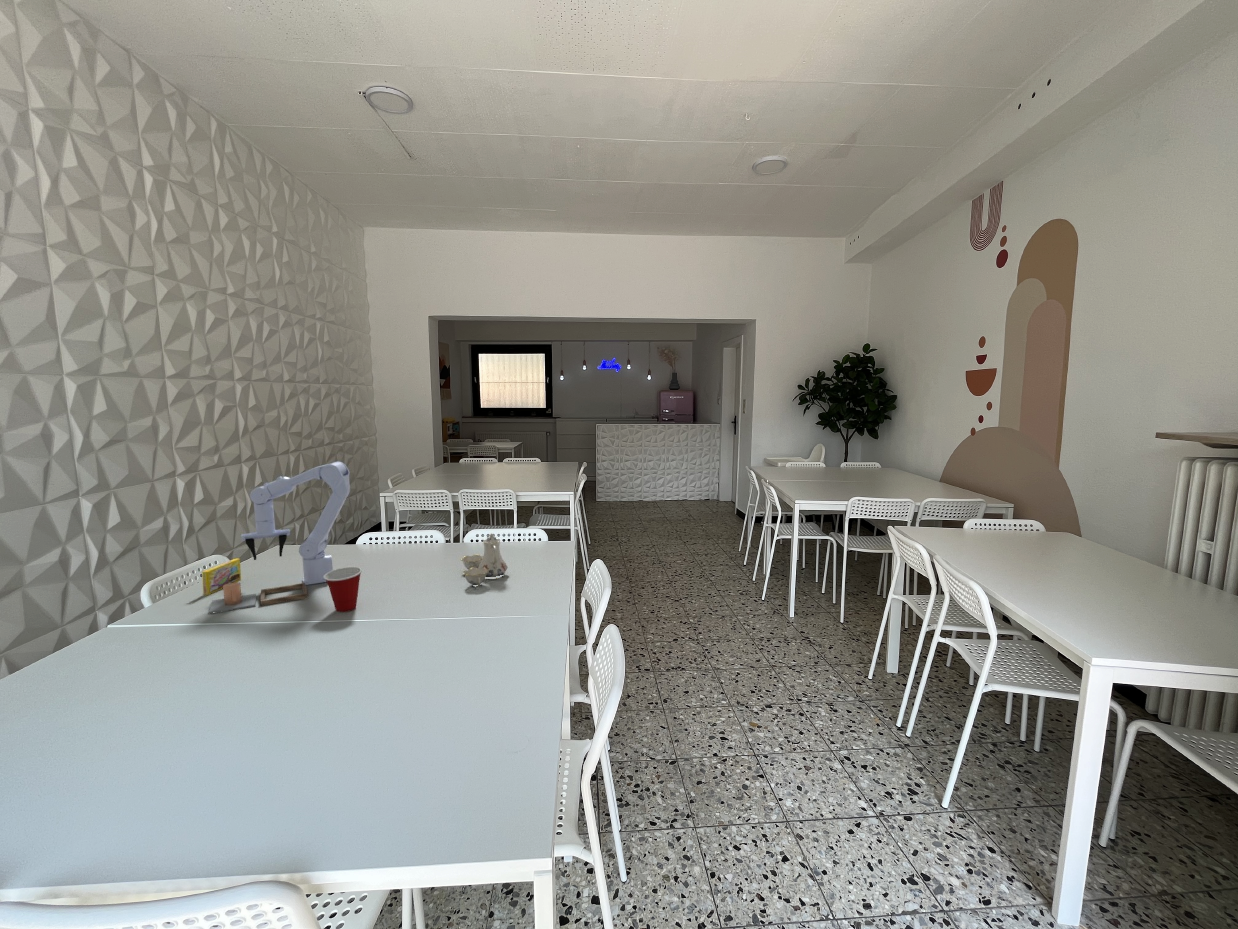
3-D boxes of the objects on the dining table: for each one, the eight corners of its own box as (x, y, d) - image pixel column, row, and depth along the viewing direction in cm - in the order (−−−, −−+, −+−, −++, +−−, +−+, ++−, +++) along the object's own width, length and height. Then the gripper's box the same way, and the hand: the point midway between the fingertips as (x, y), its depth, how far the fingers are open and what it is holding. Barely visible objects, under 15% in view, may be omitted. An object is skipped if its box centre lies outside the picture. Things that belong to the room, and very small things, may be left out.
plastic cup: (318, 611, 174) (315, 574, 172) (349, 600, 183) (346, 564, 182) (341, 618, 169) (338, 579, 167) (371, 606, 178) (369, 569, 177)
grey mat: (256, 595, 189) (256, 593, 189) (255, 606, 179) (255, 604, 178) (212, 602, 182) (212, 600, 182) (208, 614, 172) (208, 612, 172)
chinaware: (457, 573, 216) (451, 531, 214) (500, 563, 223) (495, 523, 220) (468, 596, 191) (461, 549, 188) (516, 585, 197) (510, 539, 194)
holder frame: (305, 586, 197) (305, 582, 196) (307, 598, 186) (307, 593, 185) (261, 593, 190) (261, 589, 190) (261, 605, 179) (260, 601, 179)
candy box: (209, 595, 189) (206, 571, 188) (202, 595, 189) (200, 571, 188) (242, 580, 205) (240, 558, 204) (236, 580, 205) (234, 558, 204)
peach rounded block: (223, 602, 180) (222, 584, 180) (241, 599, 183) (239, 581, 183) (226, 608, 175) (224, 589, 175) (243, 604, 178) (241, 586, 178)
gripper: (288, 515, 205) (291, 551, 207) (240, 520, 198) (244, 558, 199) (289, 519, 199) (291, 556, 201) (239, 524, 192) (243, 562, 193)
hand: (268, 557), depth 200 cm, fingers open, 7 cm apart
